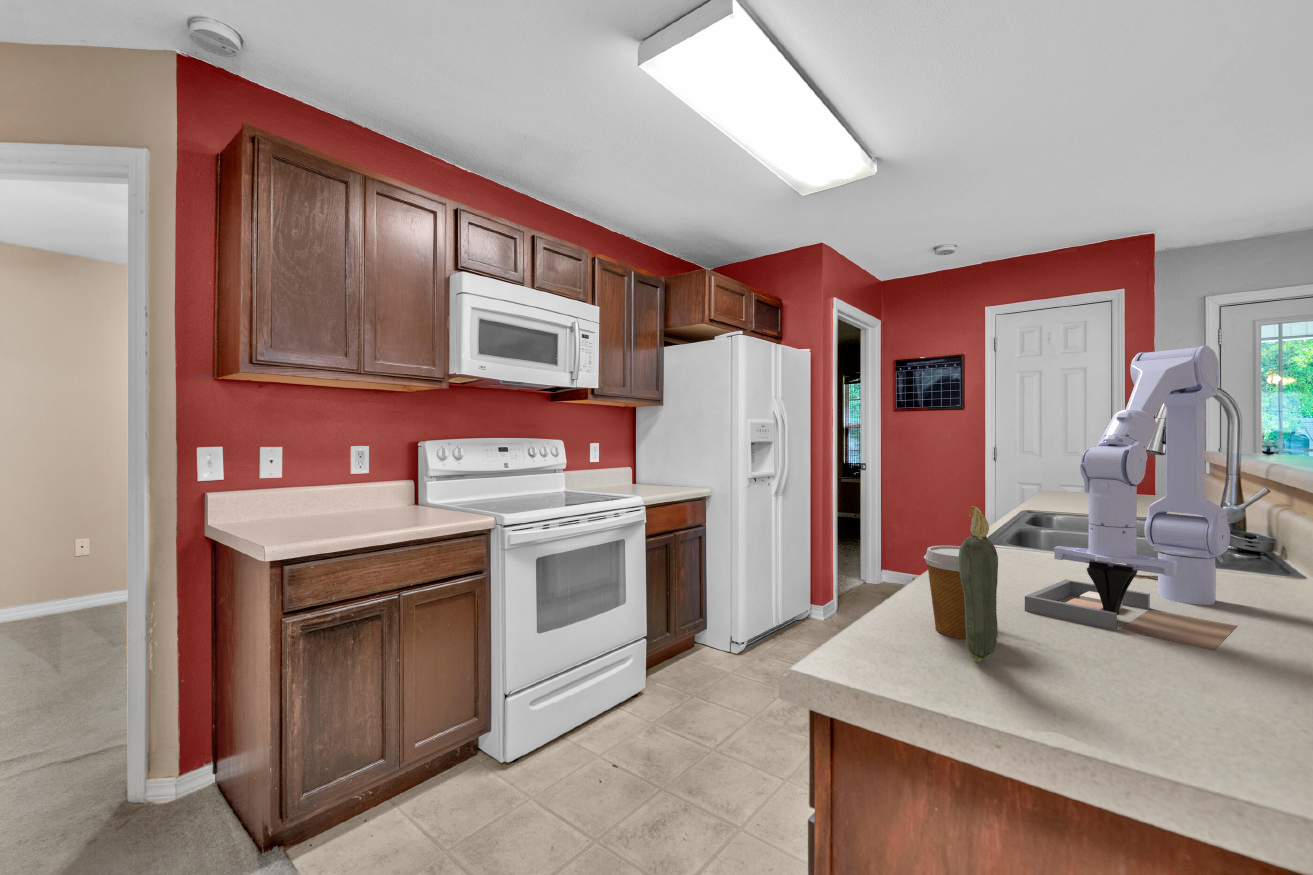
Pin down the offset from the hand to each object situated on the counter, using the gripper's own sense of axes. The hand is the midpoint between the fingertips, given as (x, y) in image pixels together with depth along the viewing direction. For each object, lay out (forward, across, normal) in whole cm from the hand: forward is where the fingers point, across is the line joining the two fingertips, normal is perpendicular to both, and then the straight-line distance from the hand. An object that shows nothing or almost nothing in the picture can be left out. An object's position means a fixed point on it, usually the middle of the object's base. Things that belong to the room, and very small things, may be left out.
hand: (1111, 614), depth 87 cm
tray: (+2, -4, +4) cm, 5 cm away
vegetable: (+2, -6, -30) cm, 31 cm away
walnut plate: (+2, +7, +4) cm, 8 cm away
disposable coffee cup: (+2, -13, -20) cm, 24 cm away
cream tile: (+2, -3, +7) cm, 8 cm away
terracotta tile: (+2, -3, 0) cm, 3 cm away
